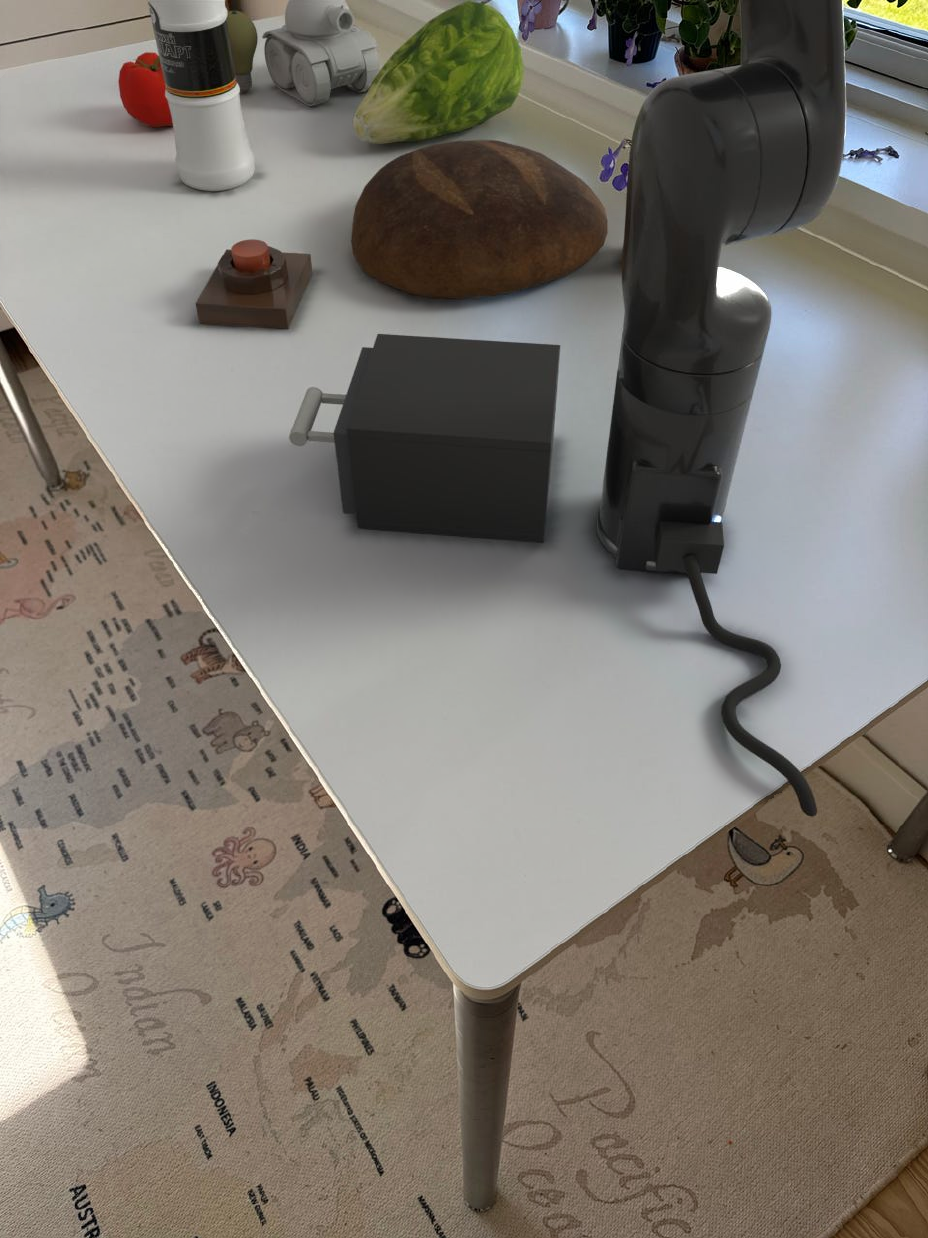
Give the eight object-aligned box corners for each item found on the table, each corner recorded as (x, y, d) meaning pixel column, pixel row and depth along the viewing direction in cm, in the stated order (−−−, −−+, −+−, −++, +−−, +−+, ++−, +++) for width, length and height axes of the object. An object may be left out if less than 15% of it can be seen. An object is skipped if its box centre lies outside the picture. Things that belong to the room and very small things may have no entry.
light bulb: (273, 91, 140) (262, 11, 133) (239, 102, 137) (227, 20, 130) (249, 81, 143) (238, 1, 135) (216, 91, 140) (202, 10, 133)
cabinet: (357, 528, 79) (346, 428, 72) (384, 431, 87) (377, 333, 80) (543, 543, 78) (551, 442, 70) (553, 443, 86) (560, 344, 79)
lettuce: (345, 170, 133) (308, 66, 123) (481, 90, 139) (456, -15, 129) (403, 194, 124) (369, 83, 114) (546, 107, 129) (525, -5, 120)
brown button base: (288, 329, 98) (282, 291, 95) (199, 323, 99) (191, 286, 96) (313, 273, 106) (308, 236, 103) (229, 268, 107) (223, 232, 104)
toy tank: (386, 96, 139) (380, -11, 129) (321, 115, 134) (310, 6, 125) (328, 65, 147) (318, -37, 137) (265, 82, 142) (250, -23, 133)
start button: (265, 274, 98) (262, 257, 97) (229, 272, 99) (226, 255, 97) (274, 256, 101) (272, 239, 100) (239, 254, 101) (236, 237, 100)
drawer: (289, 509, 79) (275, 428, 73) (320, 422, 87) (309, 343, 81) (514, 527, 77) (518, 445, 72) (526, 437, 85) (530, 356, 79)
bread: (534, 169, 123) (537, 93, 116) (655, 270, 106) (667, 188, 99) (312, 216, 114) (303, 137, 108) (406, 334, 98) (402, 248, 91)
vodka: (264, 186, 120) (218, -120, 98) (186, 199, 118) (121, -112, 96) (248, 156, 126) (201, -140, 104) (173, 167, 124) (109, -133, 101)
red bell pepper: (147, 140, 129) (133, 77, 124) (116, 119, 134) (101, 57, 128) (212, 121, 133) (201, 60, 128) (179, 101, 138) (167, 41, 132)
